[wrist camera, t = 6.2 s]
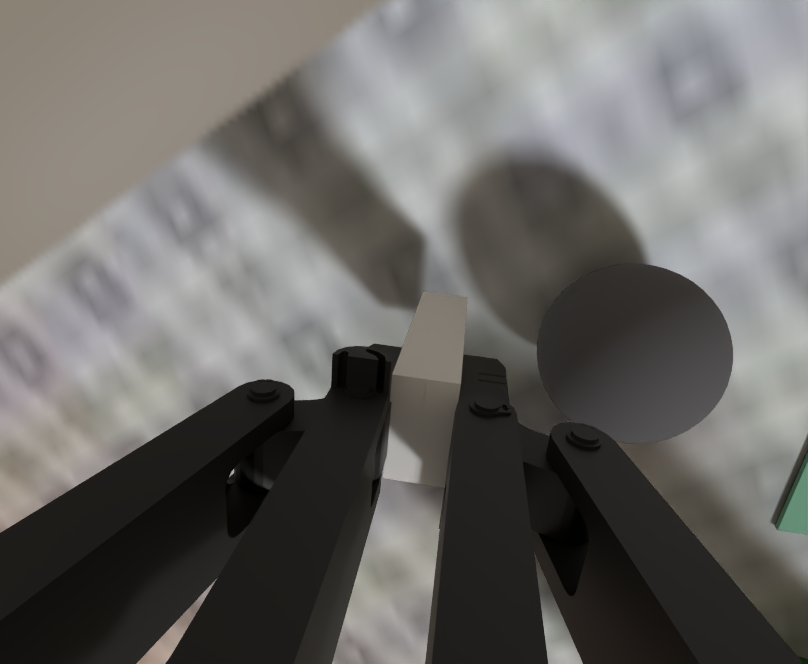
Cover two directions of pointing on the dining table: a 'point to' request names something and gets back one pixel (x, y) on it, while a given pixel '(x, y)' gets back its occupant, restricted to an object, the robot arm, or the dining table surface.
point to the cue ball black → (635, 353)
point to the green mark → (796, 504)
